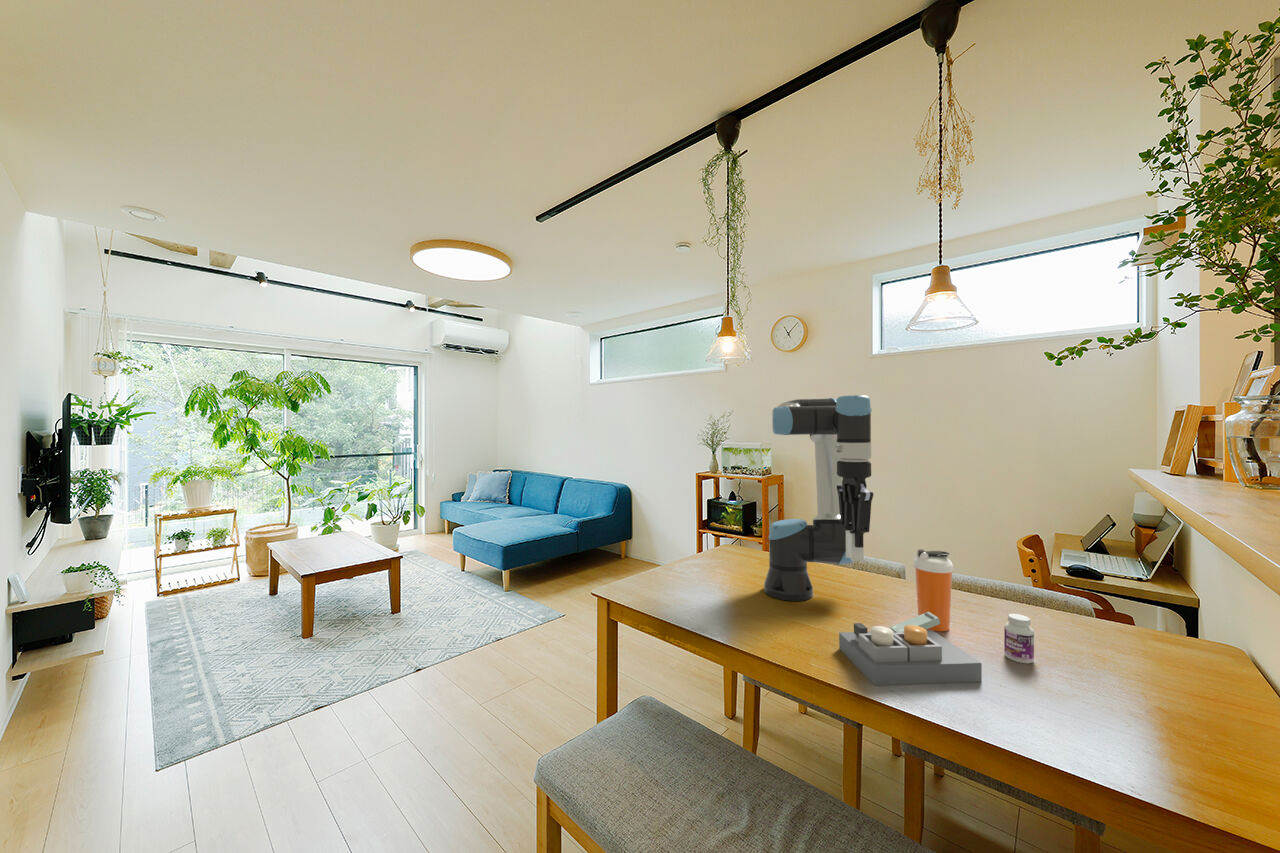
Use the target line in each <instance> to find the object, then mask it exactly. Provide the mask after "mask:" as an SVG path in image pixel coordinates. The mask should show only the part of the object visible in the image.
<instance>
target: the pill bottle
mask: <svg viewBox="0 0 1280 853" xmlns="http://www.w3.org/2000/svg"><path fill="white" fill-rule="evenodd" d="M1007 620H1008V622H1006V623H1005V624H1004V634H1003V636H1004V641H1003V642H1004V644H1003V648H1004V649H1003V650H1004V656H1005V657H1006V658H1007V659H1009V660H1011V661H1014V662H1017V663H1020V664H1031V663H1034V661H1035V631H1034V629H1033V628H1032V627H1031V618H1030V617H1028V616H1026V615H1023V614H1019V613H1018V614H1017V613H1009V614H1008V616H1007Z"/></svg>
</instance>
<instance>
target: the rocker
mask: <svg viewBox="0 0 1280 853" xmlns="http://www.w3.org/2000/svg"><path fill="white" fill-rule="evenodd" d="M939 624H940V621H939V618H938V617H936V616H935V615H933V614H931V613H930V612H926V613H924V614H921V615H919V616H918V615H917V616H914V617H912V618H911V617H910V619H907V620H904V621H901V622H899V623H897V624H894V625H891V626H890V627H889V629H891V630H892V631H893V632H894V633H901V632H904V626H907V625H914V626H919V627H922V628H924V629H926V630H929V628H931V627H934V626H936V625H939Z"/></svg>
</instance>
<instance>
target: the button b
mask: <svg viewBox="0 0 1280 853" xmlns="http://www.w3.org/2000/svg"><path fill="white" fill-rule="evenodd" d="M927 630H928V629H924V628H922V627H919V626H914V625H907V626H904V640H905V641H906V642H907V643H909V644H910V645H927Z"/></svg>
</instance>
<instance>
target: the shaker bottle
mask: <svg viewBox="0 0 1280 853" xmlns="http://www.w3.org/2000/svg"><path fill="white" fill-rule="evenodd" d="M949 555H950V553H949V552H948V551H943V550H926V551H925V550H924V549H918V550H917V552H916V556H915V558H914V559H913V564H914V565H913V566H914V570H915V586H916V599H917V600H916V603H917V606H916V607H917V616H919V615H921V614H924V613H926V612H930V613H931V614H933V615H935V616H936V617H938V618H939V621H940V624H939V625H936V626H934V627H931V628H929V629H928V630H933V631H934V632H947V631H949V630H950V628H951V627H950V624H951V621H950V619H951V606H952V605H951V603H952V581H953V580H952V579H953V578H952V577H953V572H954V564H953V563H952V561H951V560H950V559H948V557H949Z"/></svg>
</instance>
